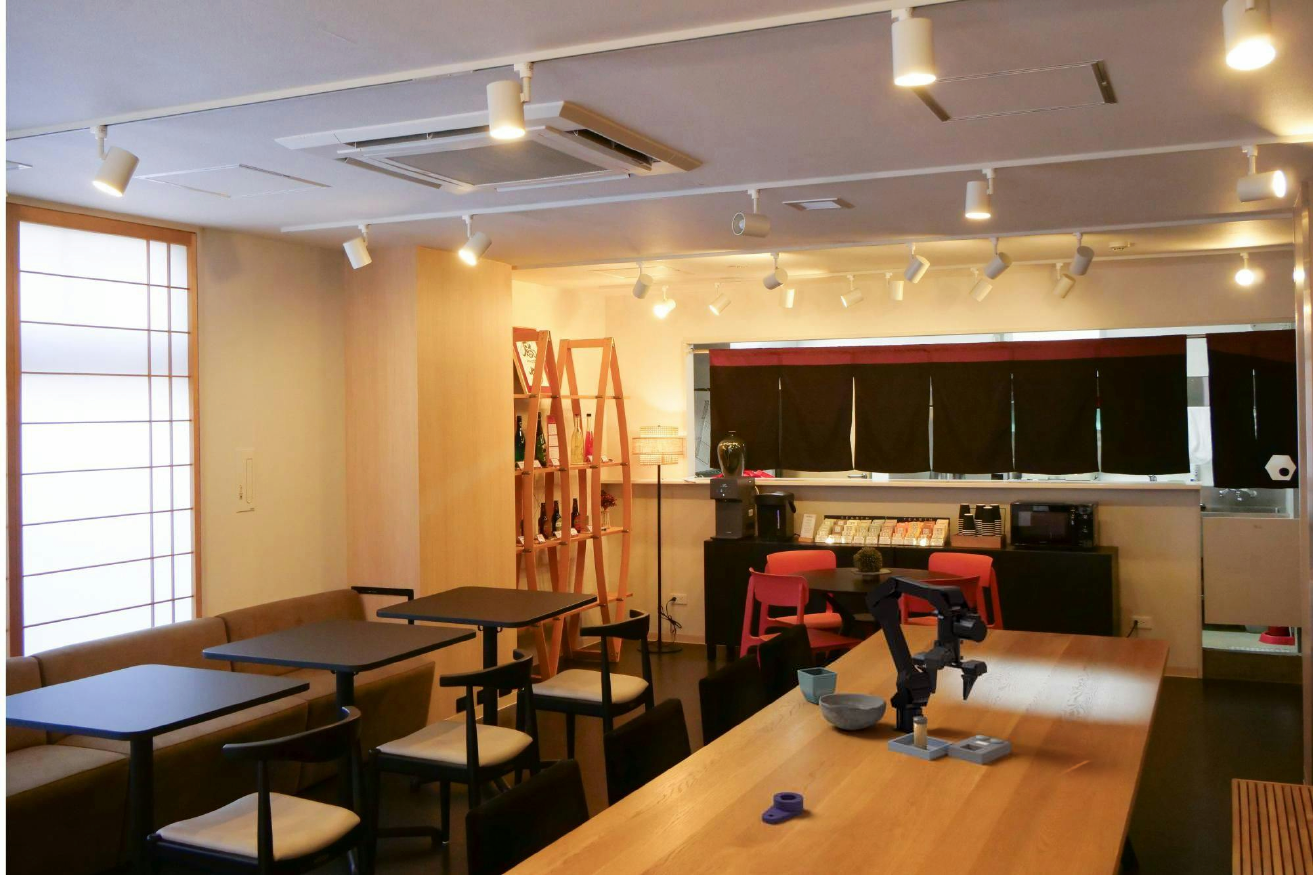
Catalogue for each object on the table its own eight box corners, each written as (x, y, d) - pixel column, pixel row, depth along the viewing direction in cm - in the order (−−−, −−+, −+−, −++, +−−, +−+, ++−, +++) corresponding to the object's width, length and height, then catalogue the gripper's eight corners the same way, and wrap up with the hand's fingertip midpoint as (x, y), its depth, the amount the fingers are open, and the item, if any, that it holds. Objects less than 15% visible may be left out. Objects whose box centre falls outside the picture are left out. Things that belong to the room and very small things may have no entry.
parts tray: (887, 751, 266) (887, 741, 266) (912, 742, 273) (912, 732, 273) (929, 762, 257) (929, 751, 257) (953, 752, 264) (953, 742, 264)
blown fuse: (910, 749, 265) (910, 718, 265) (918, 747, 267) (918, 715, 267) (922, 752, 263) (922, 720, 263) (930, 750, 265) (930, 718, 265)
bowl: (882, 719, 295) (882, 690, 295) (890, 737, 277) (890, 707, 277) (817, 718, 297) (817, 689, 297) (820, 736, 279) (820, 706, 279)
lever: (783, 804, 229) (783, 790, 229) (809, 810, 225) (808, 796, 225) (753, 820, 220) (753, 805, 220) (779, 827, 216) (779, 812, 216)
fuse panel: (948, 758, 260) (948, 743, 260) (978, 746, 269) (978, 732, 269) (981, 766, 253) (981, 752, 253) (1010, 754, 263) (1010, 740, 263)
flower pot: (796, 699, 317) (796, 669, 317) (821, 696, 321) (821, 666, 321) (813, 706, 309) (812, 675, 309) (838, 703, 313) (838, 672, 313)
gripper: (899, 635, 273) (900, 695, 273) (964, 645, 260) (964, 709, 260) (924, 629, 281) (924, 688, 281) (988, 639, 267) (988, 701, 267)
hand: (949, 696), depth 272 cm, fingers open, 9 cm apart
